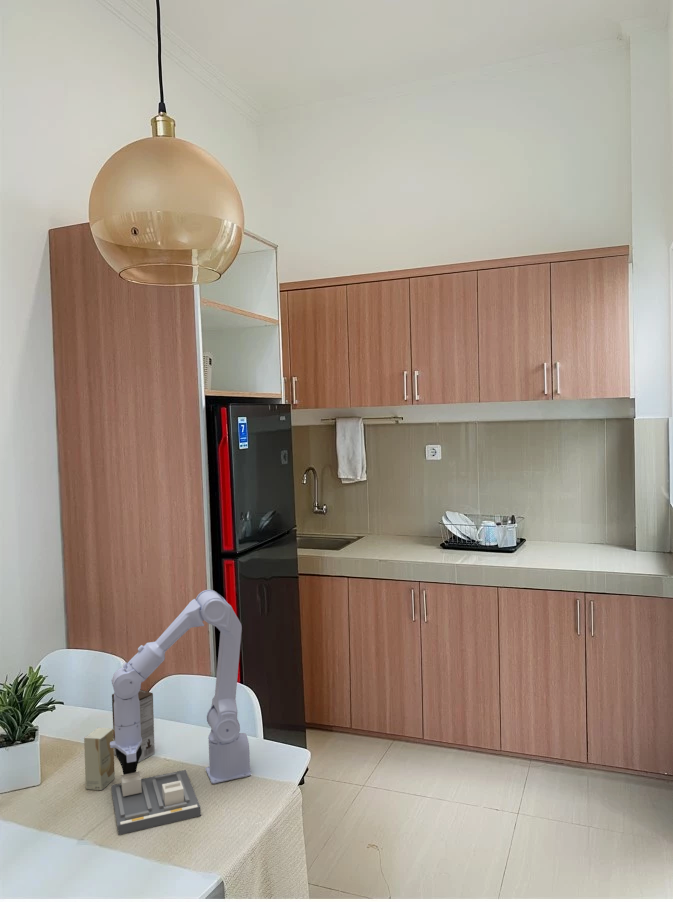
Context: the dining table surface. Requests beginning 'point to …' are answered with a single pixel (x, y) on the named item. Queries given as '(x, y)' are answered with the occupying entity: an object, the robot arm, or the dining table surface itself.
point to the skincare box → (99, 759)
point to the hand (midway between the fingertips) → (129, 779)
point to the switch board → (153, 804)
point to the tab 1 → (131, 783)
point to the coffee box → (143, 723)
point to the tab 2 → (173, 793)
